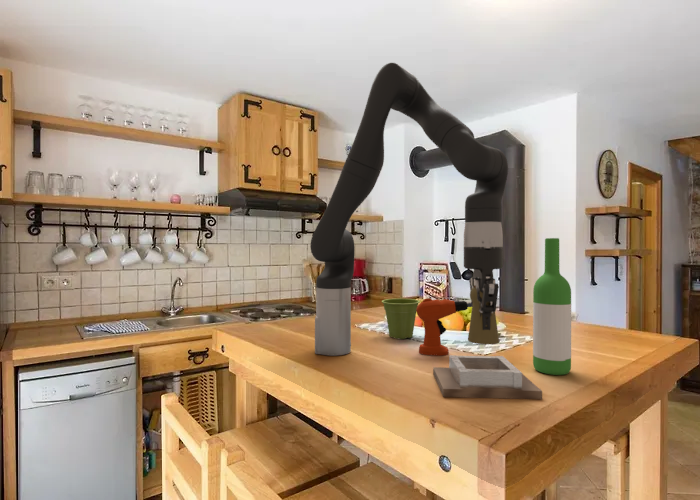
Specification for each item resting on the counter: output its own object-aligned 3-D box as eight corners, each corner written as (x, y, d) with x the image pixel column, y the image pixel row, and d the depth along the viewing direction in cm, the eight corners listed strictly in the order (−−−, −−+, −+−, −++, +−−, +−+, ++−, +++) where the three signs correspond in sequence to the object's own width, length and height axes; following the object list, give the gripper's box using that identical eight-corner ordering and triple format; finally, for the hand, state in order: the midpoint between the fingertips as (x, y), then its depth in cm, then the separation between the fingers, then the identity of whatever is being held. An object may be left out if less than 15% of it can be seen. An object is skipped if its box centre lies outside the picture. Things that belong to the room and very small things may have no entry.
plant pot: (378, 333, 135) (378, 298, 135) (414, 332, 136) (414, 298, 136) (385, 341, 123) (385, 303, 123) (424, 340, 125) (424, 303, 125)
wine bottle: (578, 372, 93) (578, 238, 92) (558, 378, 89) (558, 237, 88) (545, 364, 99) (546, 238, 99) (525, 369, 95) (526, 238, 95)
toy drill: (494, 351, 105) (486, 293, 106) (419, 358, 108) (412, 301, 108) (490, 347, 110) (483, 291, 110) (419, 353, 113) (412, 298, 113)
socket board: (443, 396, 78) (443, 388, 78) (433, 374, 92) (433, 367, 92) (542, 399, 77) (542, 391, 77) (516, 375, 91) (516, 368, 91)
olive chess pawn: (495, 345, 80) (495, 288, 80) (464, 342, 83) (463, 287, 83) (502, 339, 85) (502, 285, 85) (472, 336, 88) (472, 284, 88)
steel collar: (460, 387, 79) (460, 371, 79) (449, 368, 90) (449, 355, 90) (521, 388, 78) (521, 372, 78) (502, 370, 90) (502, 356, 90)
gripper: (457, 245, 91) (457, 323, 91) (472, 245, 77) (472, 337, 77) (492, 245, 91) (492, 324, 91) (513, 245, 77) (513, 338, 77)
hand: (482, 330), depth 84 cm, fingers closed on olive chess pawn, 3 cm apart
